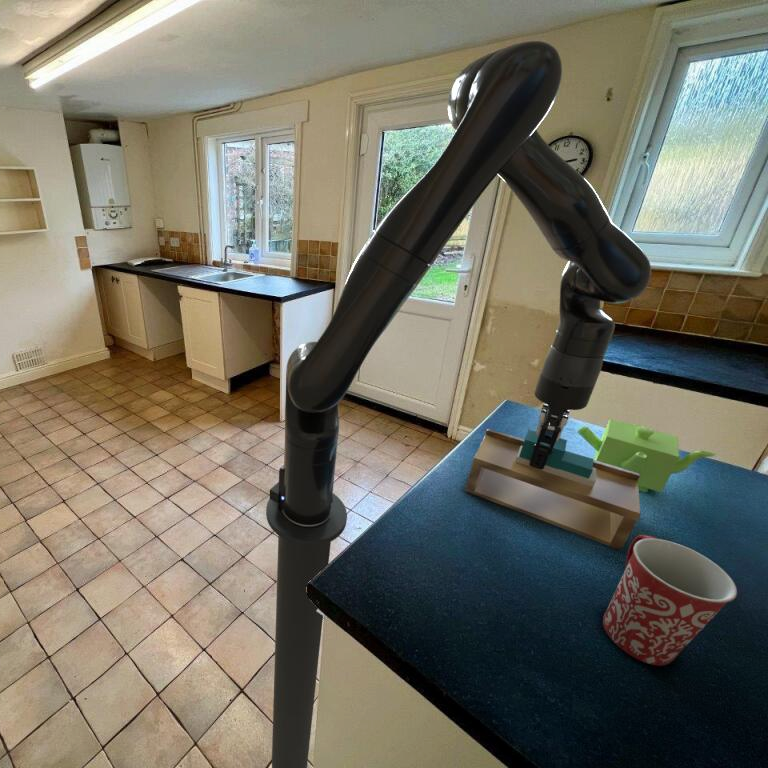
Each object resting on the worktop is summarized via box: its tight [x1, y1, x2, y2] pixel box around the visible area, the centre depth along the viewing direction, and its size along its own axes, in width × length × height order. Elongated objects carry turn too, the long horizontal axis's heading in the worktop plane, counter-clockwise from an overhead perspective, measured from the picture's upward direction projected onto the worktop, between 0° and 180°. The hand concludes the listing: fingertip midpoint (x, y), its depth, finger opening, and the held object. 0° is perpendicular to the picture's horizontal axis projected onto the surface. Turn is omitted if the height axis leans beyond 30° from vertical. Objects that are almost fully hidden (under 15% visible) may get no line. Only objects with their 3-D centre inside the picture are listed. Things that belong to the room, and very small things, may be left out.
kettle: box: [577, 418, 718, 493], centre depth 83 cm, size 15×14×11 cm
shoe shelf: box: [464, 428, 641, 551], centre depth 76 cm, size 24×11×9 cm, turn 52°
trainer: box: [515, 429, 596, 487], centre depth 74 cm, size 12×5×5 cm, turn 52°
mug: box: [602, 534, 738, 666], centre depth 53 cm, size 13×9×14 cm
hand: (538, 458), depth 76 cm, fingers open, 5 cm apart
